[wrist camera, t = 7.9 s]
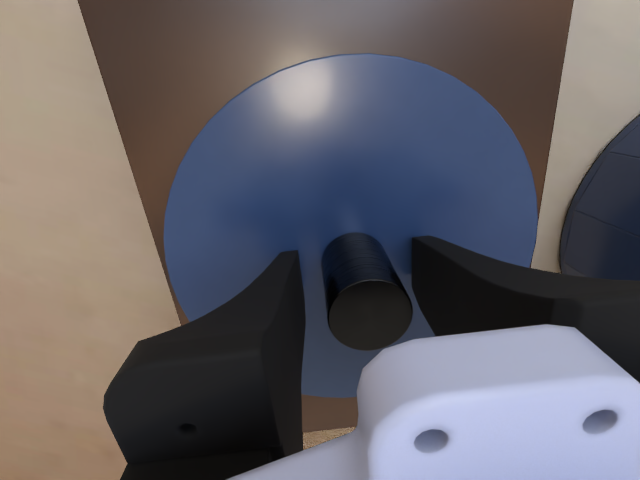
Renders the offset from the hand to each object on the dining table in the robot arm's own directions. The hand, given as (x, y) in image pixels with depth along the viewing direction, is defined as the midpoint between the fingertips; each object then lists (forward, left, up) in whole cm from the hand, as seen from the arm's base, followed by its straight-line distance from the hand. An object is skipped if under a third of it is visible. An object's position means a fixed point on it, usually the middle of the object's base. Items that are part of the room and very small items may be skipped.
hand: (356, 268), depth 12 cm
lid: (0, 0, -1) cm, 1 cm away
